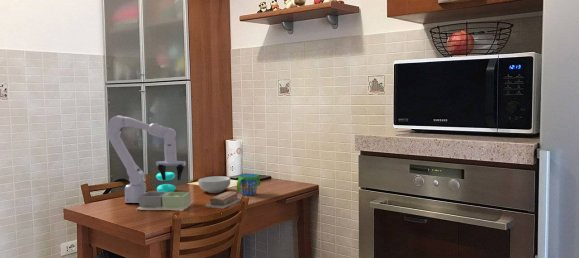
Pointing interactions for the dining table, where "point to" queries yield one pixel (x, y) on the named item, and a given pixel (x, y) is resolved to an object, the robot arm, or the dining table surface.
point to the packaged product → (223, 200)
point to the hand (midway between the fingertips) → (171, 180)
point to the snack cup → (248, 184)
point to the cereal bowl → (214, 184)
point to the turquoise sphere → (166, 187)
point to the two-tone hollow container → (165, 201)
